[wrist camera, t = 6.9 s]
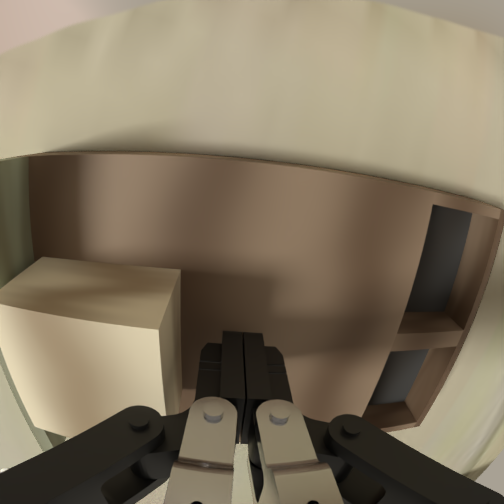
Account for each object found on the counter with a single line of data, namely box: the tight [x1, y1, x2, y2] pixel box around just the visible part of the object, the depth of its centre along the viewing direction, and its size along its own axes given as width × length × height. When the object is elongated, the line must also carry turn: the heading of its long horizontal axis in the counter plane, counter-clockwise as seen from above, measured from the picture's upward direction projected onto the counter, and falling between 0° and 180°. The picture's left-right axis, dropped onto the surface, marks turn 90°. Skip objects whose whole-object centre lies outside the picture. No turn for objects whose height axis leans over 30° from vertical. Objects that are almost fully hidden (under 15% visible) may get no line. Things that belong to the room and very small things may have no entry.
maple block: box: [0, 257, 182, 438], centre depth 10 cm, size 6×6×4 cm
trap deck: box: [0, 151, 504, 451], centre depth 13 cm, size 22×14×6 cm, turn 84°
